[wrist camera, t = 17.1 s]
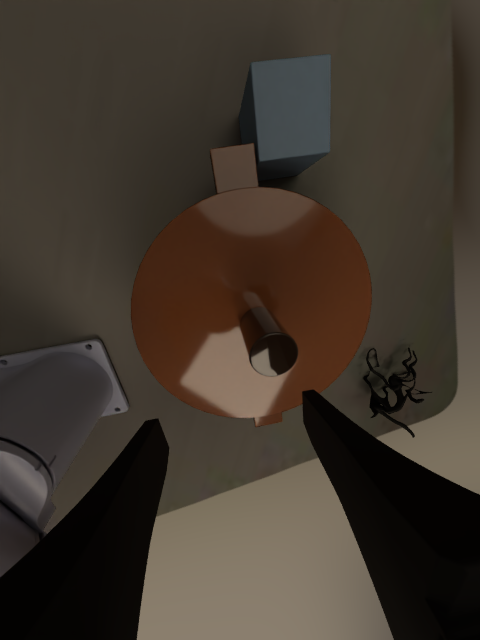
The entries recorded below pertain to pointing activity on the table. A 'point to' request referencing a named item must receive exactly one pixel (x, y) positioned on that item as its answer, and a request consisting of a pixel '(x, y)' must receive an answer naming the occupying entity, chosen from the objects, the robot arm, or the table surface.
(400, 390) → the creature
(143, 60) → the table surface
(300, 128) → the block
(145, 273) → the lid
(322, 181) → the table surface
